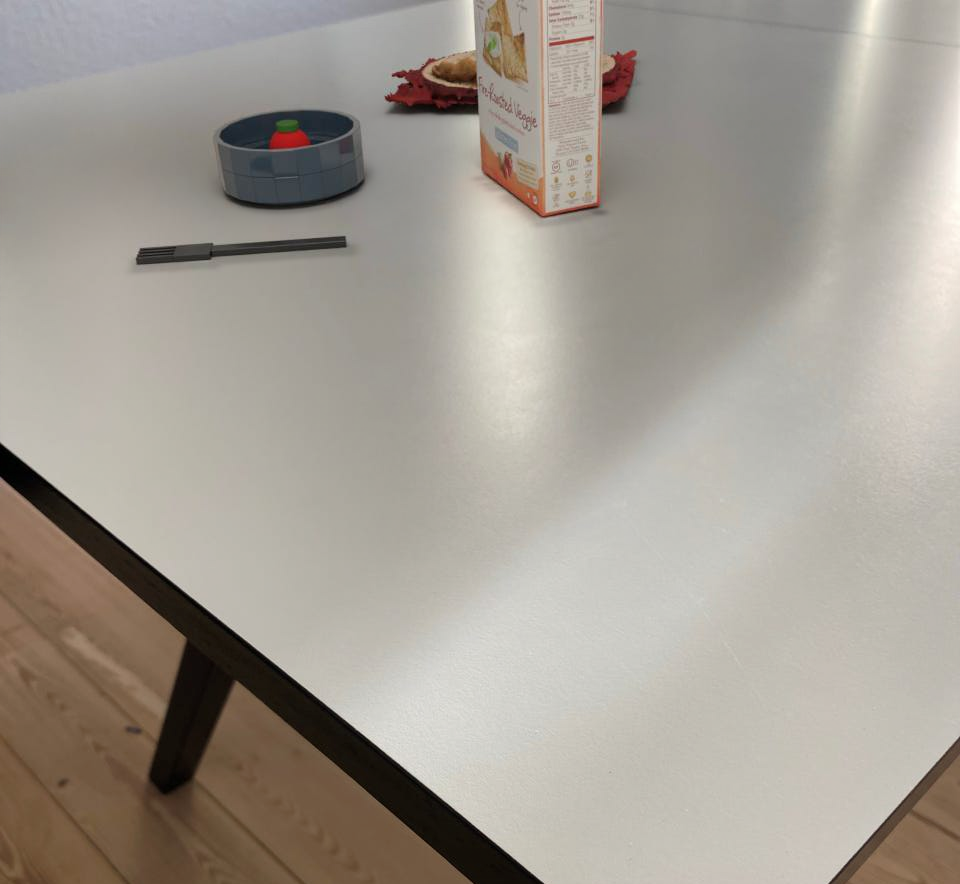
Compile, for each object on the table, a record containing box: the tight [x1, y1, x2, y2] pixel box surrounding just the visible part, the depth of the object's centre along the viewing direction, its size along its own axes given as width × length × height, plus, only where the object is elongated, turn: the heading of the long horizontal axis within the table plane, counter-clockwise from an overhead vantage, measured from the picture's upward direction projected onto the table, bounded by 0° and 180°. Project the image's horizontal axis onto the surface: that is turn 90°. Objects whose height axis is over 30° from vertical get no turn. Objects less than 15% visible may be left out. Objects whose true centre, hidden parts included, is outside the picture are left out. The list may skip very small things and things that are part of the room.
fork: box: [135, 235, 347, 265], centre depth 92 cm, size 2×17×1 cm, turn 95°
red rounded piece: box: [270, 120, 311, 150], centre depth 102 cm, size 4×4×5 cm
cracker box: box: [472, 0, 605, 217], centre depth 94 cm, size 14×6×21 cm, turn 22°
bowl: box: [212, 108, 366, 206], centre depth 103 cm, size 13×13×5 cm
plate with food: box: [384, 49, 638, 110], centre depth 127 cm, size 24×26×3 cm
